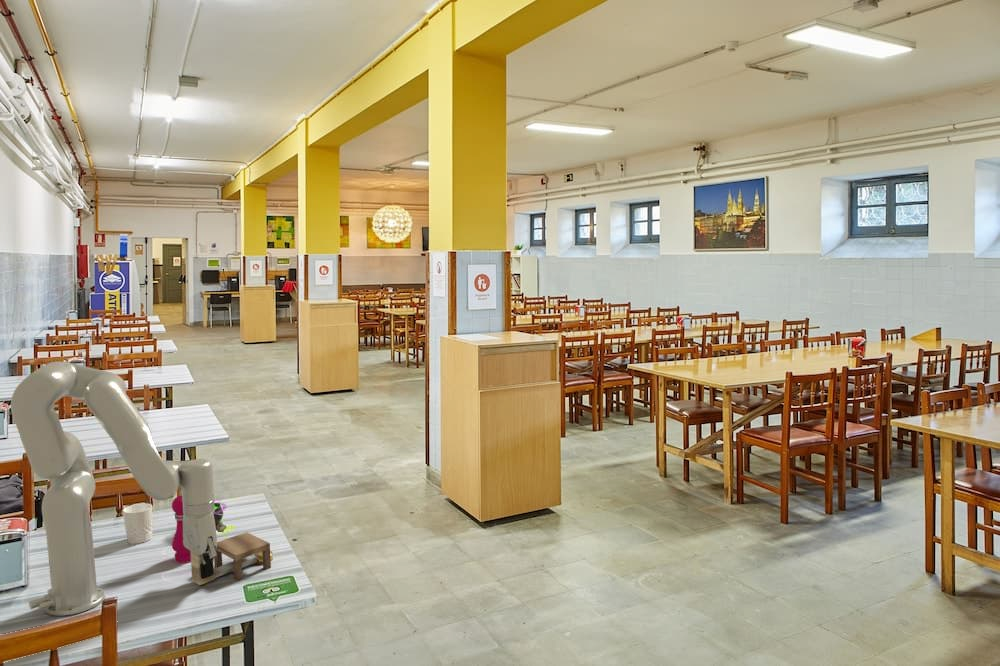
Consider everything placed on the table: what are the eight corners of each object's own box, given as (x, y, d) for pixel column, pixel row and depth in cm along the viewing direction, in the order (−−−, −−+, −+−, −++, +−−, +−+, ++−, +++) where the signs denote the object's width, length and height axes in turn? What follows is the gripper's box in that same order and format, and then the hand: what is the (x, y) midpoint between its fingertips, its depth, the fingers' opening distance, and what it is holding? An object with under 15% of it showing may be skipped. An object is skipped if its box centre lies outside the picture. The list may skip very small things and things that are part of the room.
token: (259, 565, 194) (259, 559, 193) (250, 560, 197) (250, 554, 197) (276, 559, 197) (275, 553, 197) (267, 554, 201) (266, 548, 200)
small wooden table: (237, 580, 185) (235, 555, 184) (214, 567, 192) (213, 543, 192) (270, 567, 192) (269, 543, 191) (247, 555, 200) (246, 532, 199)
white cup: (159, 537, 213) (157, 506, 212) (134, 547, 206) (132, 514, 205) (145, 532, 217) (142, 501, 216) (120, 541, 211) (117, 509, 209)
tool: (199, 585, 181) (197, 552, 180) (192, 580, 184) (190, 548, 183) (259, 562, 194) (257, 531, 193) (251, 558, 196) (249, 528, 195)
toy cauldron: (242, 530, 219) (241, 496, 217) (194, 544, 208) (192, 509, 207) (221, 517, 229) (219, 485, 228) (174, 531, 218) (172, 497, 217)
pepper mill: (190, 564, 194) (185, 495, 192) (167, 562, 196) (162, 494, 193) (206, 553, 201) (202, 486, 199) (183, 551, 203) (179, 485, 201)
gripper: (169, 504, 184) (174, 569, 186) (200, 519, 173) (204, 589, 175) (197, 496, 190) (201, 560, 192) (228, 510, 179) (232, 578, 181)
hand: (202, 573), depth 184 cm, fingers closed on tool, 4 cm apart
